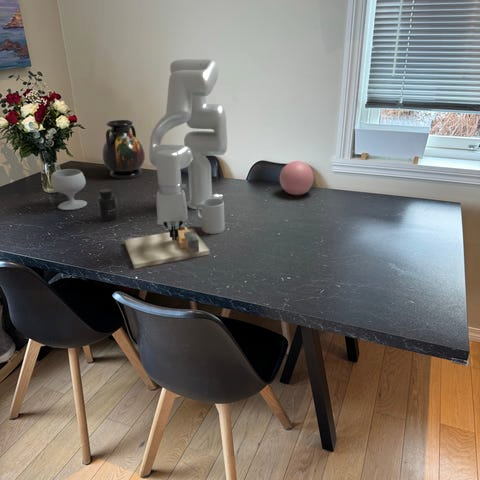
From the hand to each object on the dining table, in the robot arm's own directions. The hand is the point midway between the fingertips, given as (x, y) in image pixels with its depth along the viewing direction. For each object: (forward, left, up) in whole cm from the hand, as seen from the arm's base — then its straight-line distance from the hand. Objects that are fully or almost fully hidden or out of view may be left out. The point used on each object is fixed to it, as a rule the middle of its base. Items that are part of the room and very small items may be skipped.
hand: (174, 238), depth 148 cm
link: (-3, 0, -1) cm, 3 cm away
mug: (-16, -9, -3) cm, 19 cm away
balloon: (-67, -32, -3) cm, 74 cm away
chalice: (+31, -57, -3) cm, 65 cm away
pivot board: (+3, +1, -3) cm, 5 cm away
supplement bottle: (+18, -35, -3) cm, 40 cm away
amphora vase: (+2, -95, -3) cm, 95 cm away
